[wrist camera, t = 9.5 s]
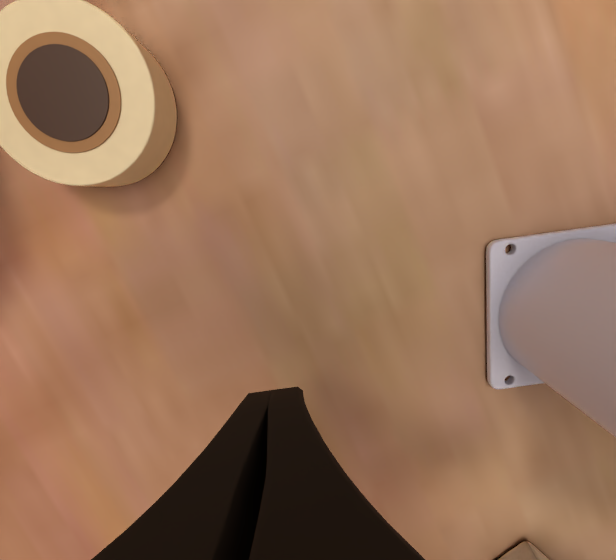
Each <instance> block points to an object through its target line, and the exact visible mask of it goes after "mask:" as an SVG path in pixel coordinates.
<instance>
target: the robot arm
mask: <svg viewBox="0 0 616 560" xmlns="http://www.w3.org/2000/svg"><path fill="white" fill-rule="evenodd" d="M509 244H510V245H511V250H510V251H509V252H508V253H506V252H505V248H506V247H507V245H509ZM486 301H487V381H488V383H489V384H490V385H491V386H492V387H493V388H494V389H506V388H513V387H520V386H527V385H535V384H542V383H546V384H547V385H548V386H549V387H551V388H552V389H553V390H555V391H556V392H557V393H559V394H560V395H561V396H562V397H564V398H565V399H566V400H568V401H569V402H570V403H572V404H573V405H574V406H575V407H577V408H578V409H579V410H581V411H582V412H583V413H585V414H586V415H587V416H588V417H590V418H591V419H592V420H594V421H595V422H596V423H598V424H599V425H600V426H601V427H603V428H604V429H605V430H607V431H608V432H609V433H611V434H612V435H613V436H614V437H616V223H613V224H606V225H599V226H592V227H584V228H577V229H570V230H562V231H555V232H548V233H540V234H533V235H526V236H518V237H511V238H504V239H497V240H493V241H492V242H490V243H489V244H488V246H487V249H486ZM507 376H510V378H509V379H508V380H506V381H504V380H505V378H506V377H507ZM91 560H425V559H424V558H423V557H422V556H421V555H420V554H419V553H418V552H417V551H416V550H415V549H414V548H413V547H412V546H411V545H410V544H409V543H408V542H407V541H406V540H405V539H404V538H403V537H402V536H401V535H400V534H399V533H398V532H397V531H396V530H395V529H394V528H393V527H392V526H391V525H390V524H388V523H387V521H386V520H385V519H384V518H383V517H382V516H381V515H380V514H379V513H378V512H377V510H376V509H375V508H374V507H373V506H372V505H371V504H370V503H369V501H368V500H367V499H366V498H365V497H364V496H363V494H362V493H361V492H360V491H359V489H358V488H357V487H356V486H355V485H354V483H353V482H352V481H351V480H350V478H349V477H348V476H347V474H346V473H345V472H344V470H343V469H342V467H341V466H340V465H339V463H338V462H337V460H336V459H335V457H334V456H333V454H332V453H331V452H330V450H329V448H328V447H327V445H326V444H325V442H324V441H323V439H322V437H321V435H320V433H319V432H318V430H317V428H316V426H315V425H314V423H313V421H312V419H311V417H310V414H309V412H308V410H307V408H306V405H305V402H304V397H303V390H301V389H300V388H299V387H292V388H284V389H277V390H270V391H263V392H255V393H249V394H248V395H247V396H246V397H245V399H244V400H243V401H242V402H241V404H240V405H239V406H238V407H237V409H236V410H235V411H234V413H233V414H232V415H231V417H230V418H229V419H228V421H227V422H226V423H225V424H224V426H223V427H222V428H221V430H220V431H219V432H218V433H217V435H216V436H215V437H214V438H213V439H212V441H211V442H210V443H209V444H208V446H207V447H206V448H205V449H204V451H203V452H202V453H201V454H200V455H199V456H198V457H197V458H196V460H195V461H194V462H193V463H192V464H191V465H190V466H189V467H188V469H187V470H186V471H185V472H184V473H183V474H182V475H181V476H180V478H179V479H178V480H177V481H176V482H175V483H174V484H173V485H172V486H171V487H170V488H169V489H168V490H167V491H166V492H165V493H164V494H163V495H162V496H161V497H160V498H159V499H158V500H157V501H156V502H155V503H154V504H153V505H152V506H151V507H150V508H149V509H148V510H147V511H146V512H145V513H144V514H143V515H142V516H141V517H139V518H138V519H137V520H136V521H135V522H134V523H133V524H132V525H131V526H130V527H129V528H128V529H127V530H125V531H124V532H123V533H122V534H121V535H120V536H119V537H117V538H116V539H115V540H114V541H113V542H112V543H110V544H109V545H108V546H107V547H106V548H104V549H103V550H102V551H101V552H100V553H99V554H97V555H96V556H95V557H94V558H93V559H91Z"/></svg>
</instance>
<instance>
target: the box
mask: <svg viewBox="0 0 616 560" xmlns="http://www.w3.org/2000/svg"><path fill="white" fill-rule="evenodd" d="M498 560H549V559H548V558H547V557H546V556H545V555H544V554H543V553H542V552H541V551H539V550H538V549H537V548H536V547H535V546H534V545H533V544H531V543H530V542H528V541H525V542H522V543H520V544H518V545H517V546H516V547H514V548H513V549H512V550H510V551H509V552H507V553H506V554H504V555H503V556H502V557H501V558H500V559H498Z"/></svg>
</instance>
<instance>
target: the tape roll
mask: <svg viewBox="0 0 616 560" xmlns="http://www.w3.org/2000/svg"><path fill="white" fill-rule="evenodd" d="M176 125H177V110H176V103H175V98H174V94H173V90H172V88H171V85H170V83H169V80H168V78H167V76H166V74H165V73H164V71H163V69H162V68H161V66H160V65H159V63H158V62H157V60H156V59H155V58H154V57H153V56H152V55H151V54H150V52H149V51H147V50H146V49H145V48H144V47H143V46H142V45H141V44H140V43H139V42H138V41H137V40H136V39H135V38H134V37H133V36H132V35H131V34H130V33H129V32H128V31H126V30H125V29H124V28H123V27H122V26H121V25H120V24H119V23H118V22H117V21H116V20H115V19H113V18H112V17H111V16H110V15H108V14H107V13H106V12H104V11H103V10H101V9H100V8H98V7H96V6H94V5H92V4H90V3H89V2H86V1H83V0H16V1H14V2H13V3H11V4H9V5H8V6H6V7H4V8H3V9H2V10H1V11H0V146H1V147H2V148H3V149H4V150H5V151H6V152H7V153H8V154H9V155H10V156H11V157H12V158H13V159H14V160H15V161H16V162H18V163H19V164H20V165H22V166H23V167H24V168H26V169H27V170H29V171H31V172H32V173H34V174H36V175H38V176H40V177H42V178H44V179H46V180H49V181H52V182H55V183H59V184H64V185H71V186H97V187H116V186H124V185H129V184H132V183H135V182H138V181H140V180H142V179H144V178H146V177H147V176H148V175H150V174H151V173H153V172H154V171H155V170H156V169H157V168H158V167H159V166H160V165H161V163H162V162H163V161H164V159H165V158H166V156H167V155H168V153H169V151H170V149H171V146H172V144H173V141H174V137H175V133H176Z"/></svg>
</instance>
